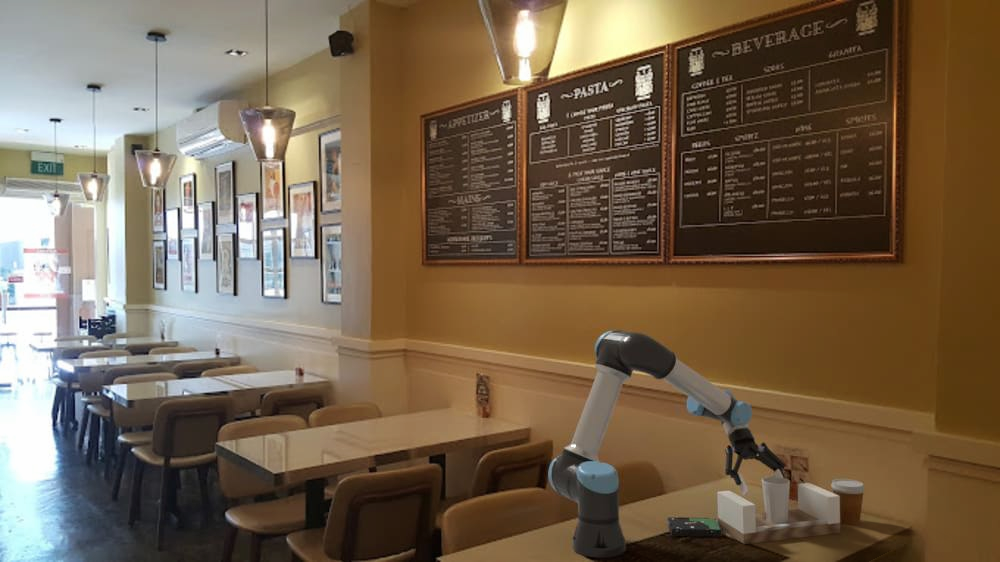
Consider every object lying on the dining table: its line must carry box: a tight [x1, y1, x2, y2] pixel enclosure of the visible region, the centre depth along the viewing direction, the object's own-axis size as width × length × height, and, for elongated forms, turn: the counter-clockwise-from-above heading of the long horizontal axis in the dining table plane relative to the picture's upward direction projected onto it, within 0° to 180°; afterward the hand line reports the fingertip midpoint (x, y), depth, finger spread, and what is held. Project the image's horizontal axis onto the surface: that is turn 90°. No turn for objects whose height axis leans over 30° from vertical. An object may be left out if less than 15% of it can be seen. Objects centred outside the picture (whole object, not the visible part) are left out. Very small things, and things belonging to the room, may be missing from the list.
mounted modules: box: [716, 482, 841, 534], centre depth 211 cm, size 32×14×8 cm, turn 103°
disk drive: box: [667, 516, 723, 538], centre depth 213 cm, size 10×3×15 cm
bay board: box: [717, 508, 841, 545], centre depth 211 cm, size 32×14×4 cm, turn 103°
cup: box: [761, 476, 791, 524], centre depth 211 cm, size 8×8×12 cm
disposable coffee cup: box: [830, 478, 866, 526], centre depth 217 cm, size 10×10×12 cm
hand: (766, 492), depth 218 cm, fingers open, 13 cm apart
